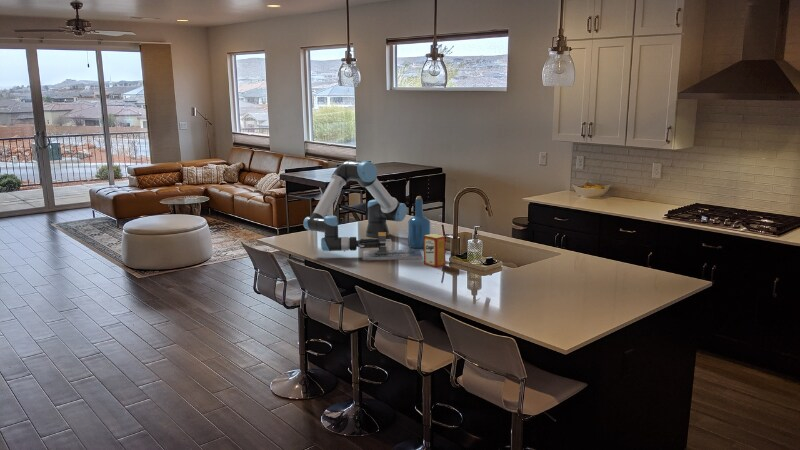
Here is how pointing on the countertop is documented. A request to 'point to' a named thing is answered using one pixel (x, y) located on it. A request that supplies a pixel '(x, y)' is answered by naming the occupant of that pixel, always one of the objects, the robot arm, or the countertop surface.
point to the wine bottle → (418, 226)
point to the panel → (392, 254)
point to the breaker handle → (381, 239)
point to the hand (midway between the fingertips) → (391, 242)
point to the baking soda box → (434, 250)
